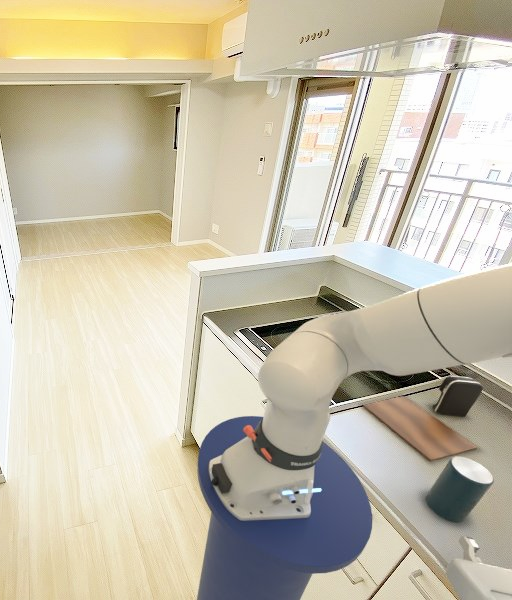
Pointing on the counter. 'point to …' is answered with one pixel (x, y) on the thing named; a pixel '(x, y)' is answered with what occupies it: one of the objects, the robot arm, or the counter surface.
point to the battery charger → (457, 396)
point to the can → (459, 489)
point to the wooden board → (419, 428)
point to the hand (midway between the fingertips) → (498, 545)
